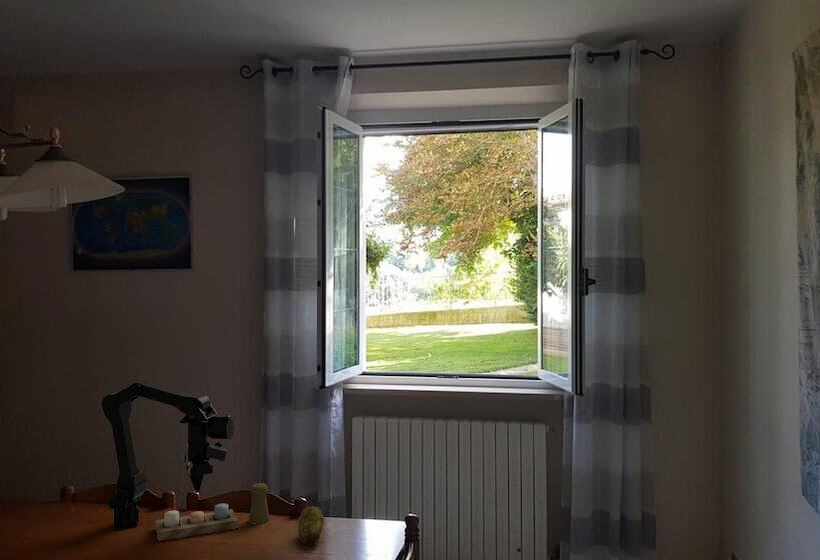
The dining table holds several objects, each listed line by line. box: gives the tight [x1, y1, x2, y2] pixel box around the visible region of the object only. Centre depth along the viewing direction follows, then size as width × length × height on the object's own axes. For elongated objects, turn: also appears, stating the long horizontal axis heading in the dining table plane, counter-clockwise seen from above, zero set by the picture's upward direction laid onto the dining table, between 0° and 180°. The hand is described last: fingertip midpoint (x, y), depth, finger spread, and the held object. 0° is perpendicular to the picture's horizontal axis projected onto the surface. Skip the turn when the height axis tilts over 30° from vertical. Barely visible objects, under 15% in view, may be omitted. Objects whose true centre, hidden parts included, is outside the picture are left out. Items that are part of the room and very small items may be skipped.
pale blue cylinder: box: [213, 503, 229, 520], centre depth 195 cm, size 4×4×4 cm
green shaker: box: [248, 482, 270, 525], centre depth 199 cm, size 6×6×11 cm
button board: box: [155, 508, 239, 542], centre depth 192 cm, size 22×10×2 cm, turn 115°
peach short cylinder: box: [189, 510, 204, 524], centre depth 192 cm, size 4×4×4 cm
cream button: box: [163, 510, 180, 528], centre depth 189 cm, size 4×4×4 cm
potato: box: [297, 505, 325, 546], centre depth 185 cm, size 8×13×8 cm, turn 169°
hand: (197, 491), depth 192 cm, fingers closed
